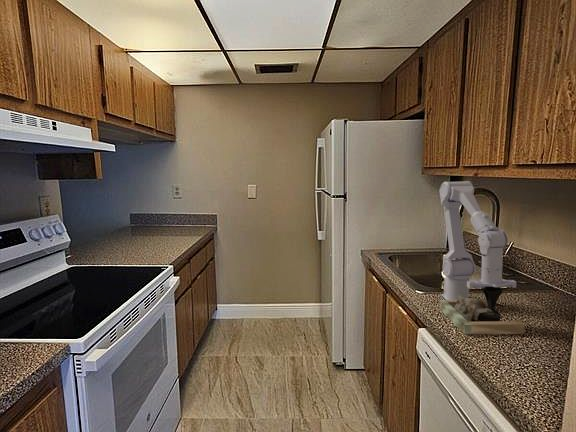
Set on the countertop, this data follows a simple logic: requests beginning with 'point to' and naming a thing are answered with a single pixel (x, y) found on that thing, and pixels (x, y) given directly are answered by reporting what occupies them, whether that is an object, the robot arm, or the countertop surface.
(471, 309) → the caster wheel
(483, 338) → the countertop surface
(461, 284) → the robot arm
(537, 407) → the countertop surface
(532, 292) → the countertop surface
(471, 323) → the frame
